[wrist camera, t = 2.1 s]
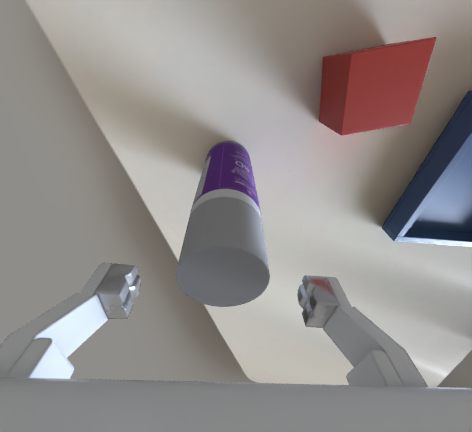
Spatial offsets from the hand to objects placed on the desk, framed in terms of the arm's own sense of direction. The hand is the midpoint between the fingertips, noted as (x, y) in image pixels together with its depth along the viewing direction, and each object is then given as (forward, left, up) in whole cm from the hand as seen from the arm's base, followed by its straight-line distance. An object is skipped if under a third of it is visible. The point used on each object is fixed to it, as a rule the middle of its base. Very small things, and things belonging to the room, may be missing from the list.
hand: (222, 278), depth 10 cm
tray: (-1, +27, -15) cm, 31 cm away
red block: (-8, +10, -15) cm, 20 cm away
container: (0, 0, -15) cm, 15 cm away
